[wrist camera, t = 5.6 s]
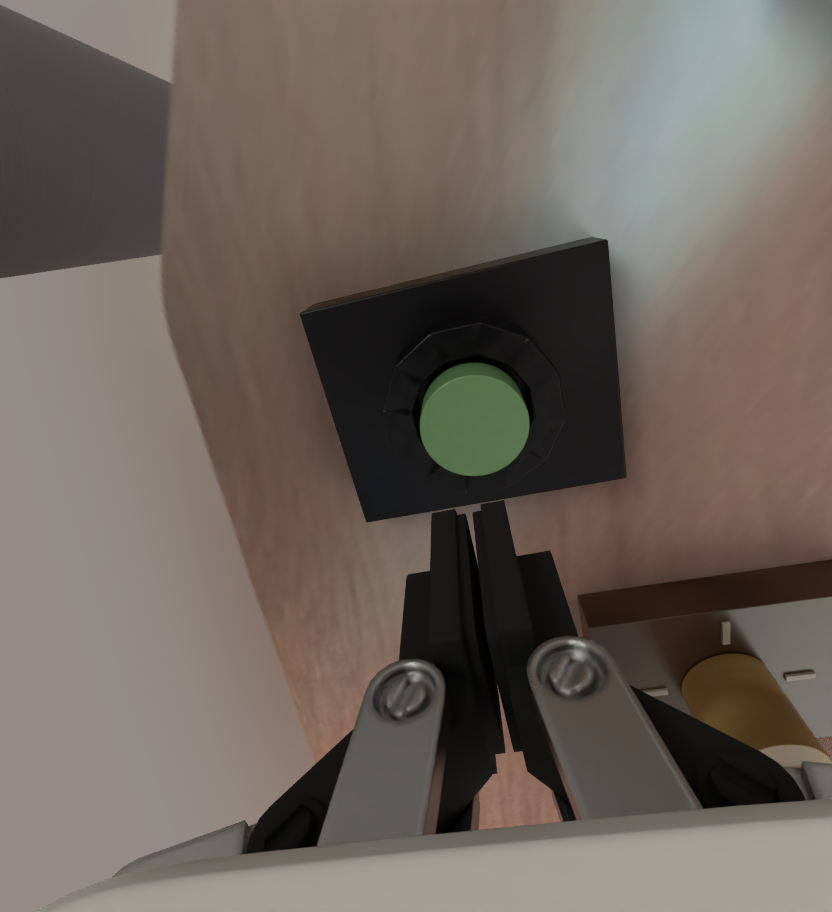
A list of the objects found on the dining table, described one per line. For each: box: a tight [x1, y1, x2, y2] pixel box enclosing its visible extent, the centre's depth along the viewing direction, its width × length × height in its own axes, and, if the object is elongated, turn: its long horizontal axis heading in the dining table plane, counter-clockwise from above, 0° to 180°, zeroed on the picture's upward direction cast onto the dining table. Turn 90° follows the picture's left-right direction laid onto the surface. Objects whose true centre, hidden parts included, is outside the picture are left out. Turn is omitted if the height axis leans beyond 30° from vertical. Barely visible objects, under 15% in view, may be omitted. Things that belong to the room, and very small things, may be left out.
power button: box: [420, 362, 530, 476], centre depth 20 cm, size 4×4×2 cm
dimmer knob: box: [681, 653, 832, 768], centre depth 25 cm, size 4×4×5 cm
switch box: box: [300, 237, 626, 522], centre depth 22 cm, size 12×10×4 cm
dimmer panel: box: [578, 560, 832, 738], centre depth 28 cm, size 13×10×3 cm
